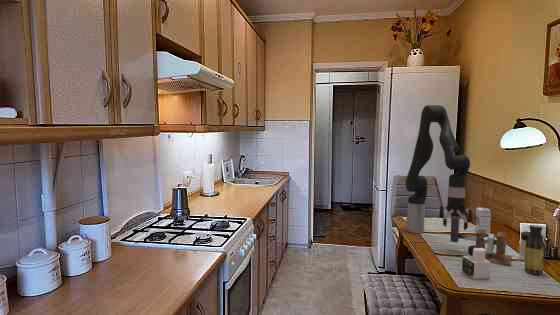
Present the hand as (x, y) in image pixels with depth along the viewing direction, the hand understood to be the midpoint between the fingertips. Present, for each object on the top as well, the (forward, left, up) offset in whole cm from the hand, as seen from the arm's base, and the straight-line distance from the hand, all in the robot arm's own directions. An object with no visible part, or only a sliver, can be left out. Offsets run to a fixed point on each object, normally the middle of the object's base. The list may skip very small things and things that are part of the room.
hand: (455, 227), depth 159 cm
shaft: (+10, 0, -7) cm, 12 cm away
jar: (+30, +9, -12) cm, 33 cm away
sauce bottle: (+31, -7, -12) cm, 34 cm away
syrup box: (+8, +41, -12) cm, 43 cm away
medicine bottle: (+12, -25, -12) cm, 30 cm away
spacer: (+15, 0, -8) cm, 17 cm away
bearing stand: (+15, 0, -12) cm, 19 cm away
